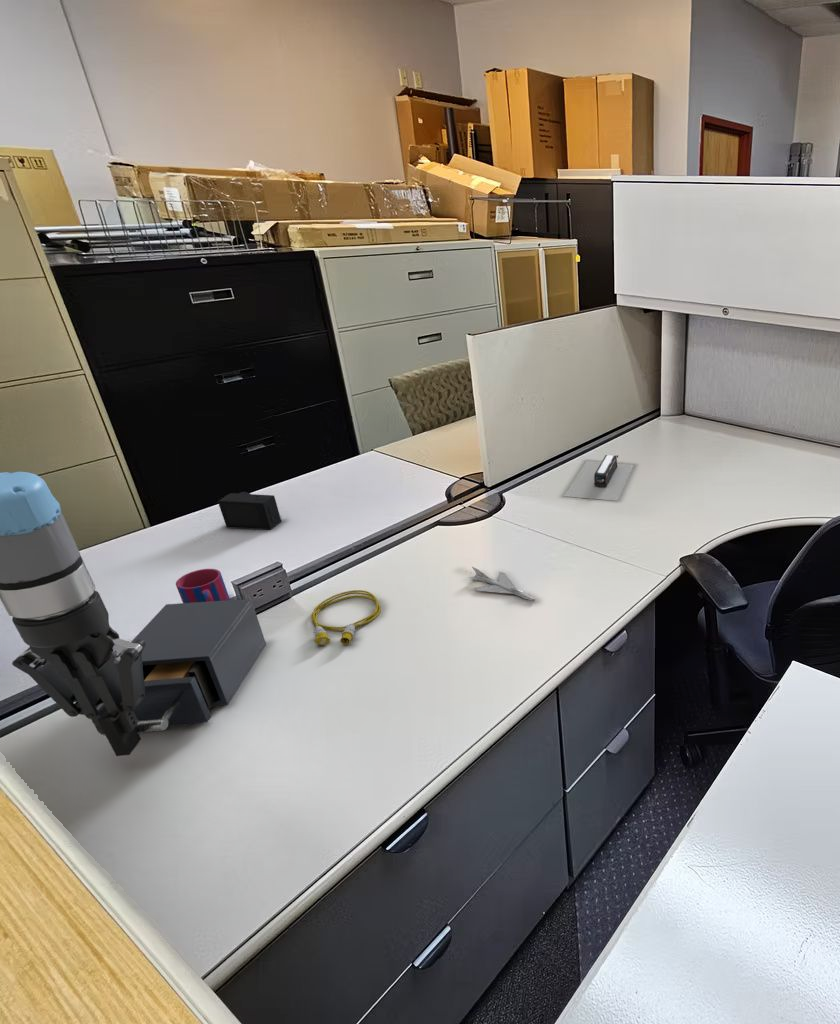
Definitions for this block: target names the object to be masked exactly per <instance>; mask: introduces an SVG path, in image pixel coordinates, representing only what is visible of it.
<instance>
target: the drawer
mask: <svg viewBox="0 0 840 1024" xmlns="http://www.w3.org/2000/svg"><path fill="white" fill-rule="evenodd" d="M156 665H157V664H156ZM156 665H143V676H144V680H145V679H146V677H147V676H148V675H149V674H150V672H151V671H152V670H153V669H154V668H155V666H156ZM189 675H190V677H185V678H173V679H161V680H149V681H144V685H145V697H144V698H143V700H142V701H141V702H140V703H139V705H138V706H137V707H136V708H135V710H134V713H135V716H136V718H137V719H138V724H137V725H136V729H137V731H138V733H139V734H140V733H150V732H161V731H166V730H167V729H168V727H175V726H176V727H177V726H184V725H185V726H186V725H194V724H195V725H196V724H206V723H208V722H209V721H210V720H211V718H212V715H211V713H210V709H211V708H212V707H213V706H212V705H213V704H214V702H215V701H216V699H217V698H218V696H219V695H218V693H217V690H216V688H215V685H214V683H213V680H212V678H211V675H210V673H209V670H208V668H207V665H206V663H205V661H197V662H196V663H195V664H194V666H193V667H192V668H191V670H190V671H189ZM103 736H104V737H106V735H105V734H104V735H103Z"/></svg>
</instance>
